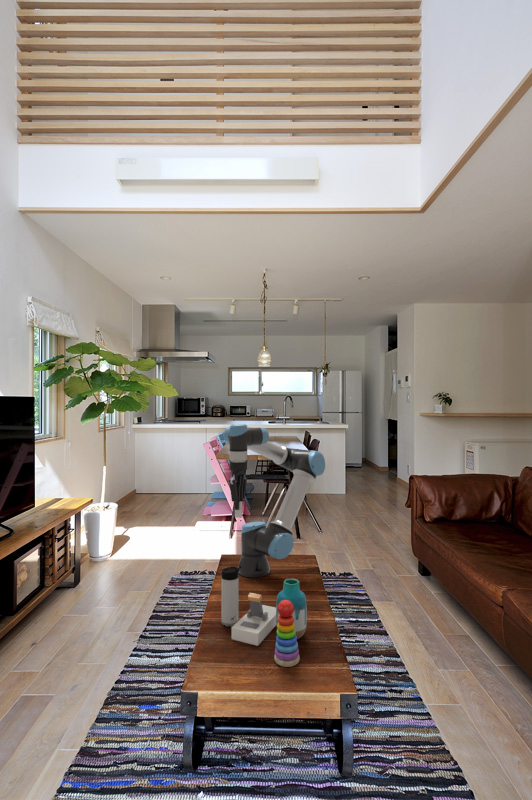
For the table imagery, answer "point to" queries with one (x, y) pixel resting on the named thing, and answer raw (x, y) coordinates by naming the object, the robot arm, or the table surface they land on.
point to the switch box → (255, 626)
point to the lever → (255, 604)
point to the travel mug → (229, 596)
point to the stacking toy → (286, 636)
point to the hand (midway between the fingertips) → (238, 516)
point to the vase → (294, 605)
